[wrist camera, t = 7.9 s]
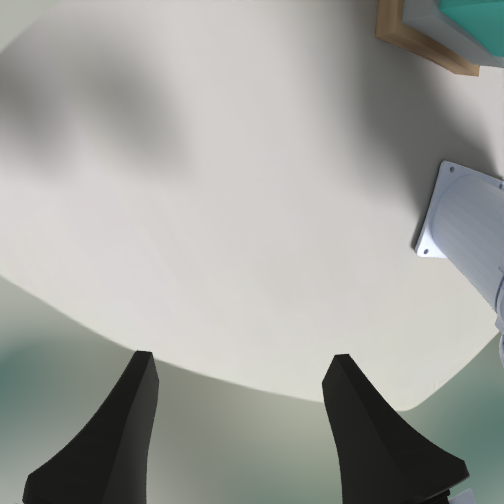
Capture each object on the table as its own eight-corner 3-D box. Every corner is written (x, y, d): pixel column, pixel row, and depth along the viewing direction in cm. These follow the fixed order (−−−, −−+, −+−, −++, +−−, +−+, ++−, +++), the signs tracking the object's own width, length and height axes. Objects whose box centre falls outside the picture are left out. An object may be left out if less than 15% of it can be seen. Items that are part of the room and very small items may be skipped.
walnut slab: (456, 0, 11) (480, -4, 8) (451, 73, 14) (478, 76, 12) (378, -41, 10) (398, -54, 7) (371, 37, 13) (394, 31, 11)
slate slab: (476, -3, 8) (505, -6, 6) (472, 64, 11) (504, 68, 9) (406, -49, 7) (433, -62, 5) (401, 22, 10) (431, 14, 8)
